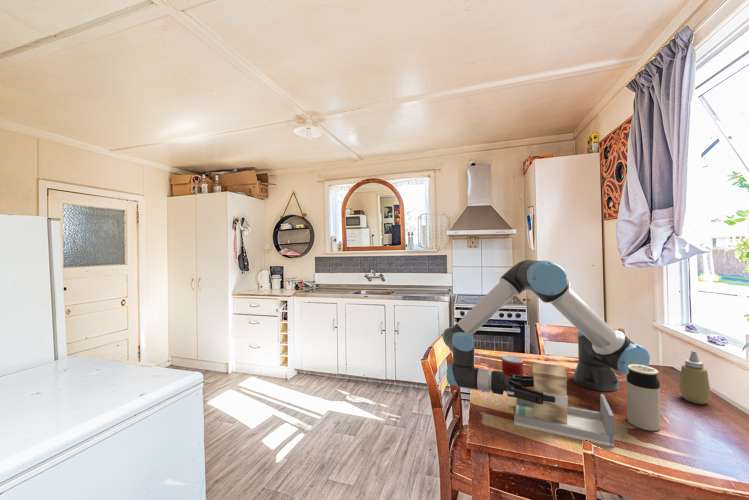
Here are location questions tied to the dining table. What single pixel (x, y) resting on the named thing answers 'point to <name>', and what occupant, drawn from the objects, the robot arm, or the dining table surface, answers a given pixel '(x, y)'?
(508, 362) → the canned food
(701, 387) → the squeeze bottle
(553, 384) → the wooden block
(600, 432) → the bay
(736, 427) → the dining table surface
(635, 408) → the travel mug
